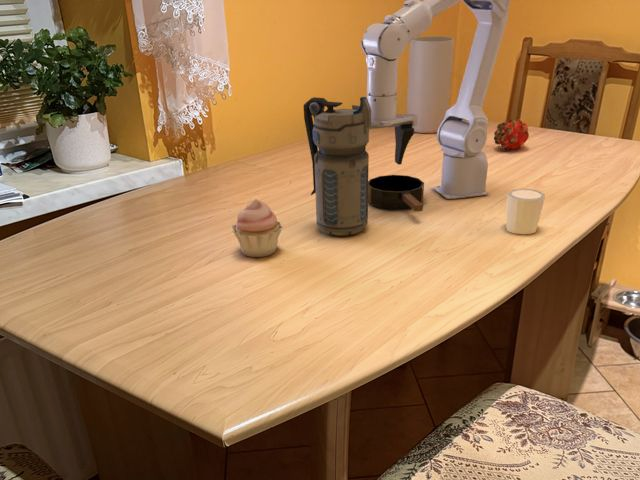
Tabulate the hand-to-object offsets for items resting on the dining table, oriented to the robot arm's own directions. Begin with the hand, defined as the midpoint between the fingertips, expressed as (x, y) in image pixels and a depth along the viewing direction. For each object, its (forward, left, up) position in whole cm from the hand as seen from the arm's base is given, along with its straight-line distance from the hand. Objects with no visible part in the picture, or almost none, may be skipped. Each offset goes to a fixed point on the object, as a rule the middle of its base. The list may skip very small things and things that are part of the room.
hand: (380, 164), depth 129 cm
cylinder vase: (-36, -66, -10) cm, 76 cm away
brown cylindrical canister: (+11, +6, -10) cm, 16 cm away
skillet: (-5, -2, -10) cm, 11 cm away
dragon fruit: (-49, -37, -10) cm, 62 cm away
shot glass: (-23, +17, -10) cm, 31 cm away
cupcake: (+28, +13, -10) cm, 32 cm away
